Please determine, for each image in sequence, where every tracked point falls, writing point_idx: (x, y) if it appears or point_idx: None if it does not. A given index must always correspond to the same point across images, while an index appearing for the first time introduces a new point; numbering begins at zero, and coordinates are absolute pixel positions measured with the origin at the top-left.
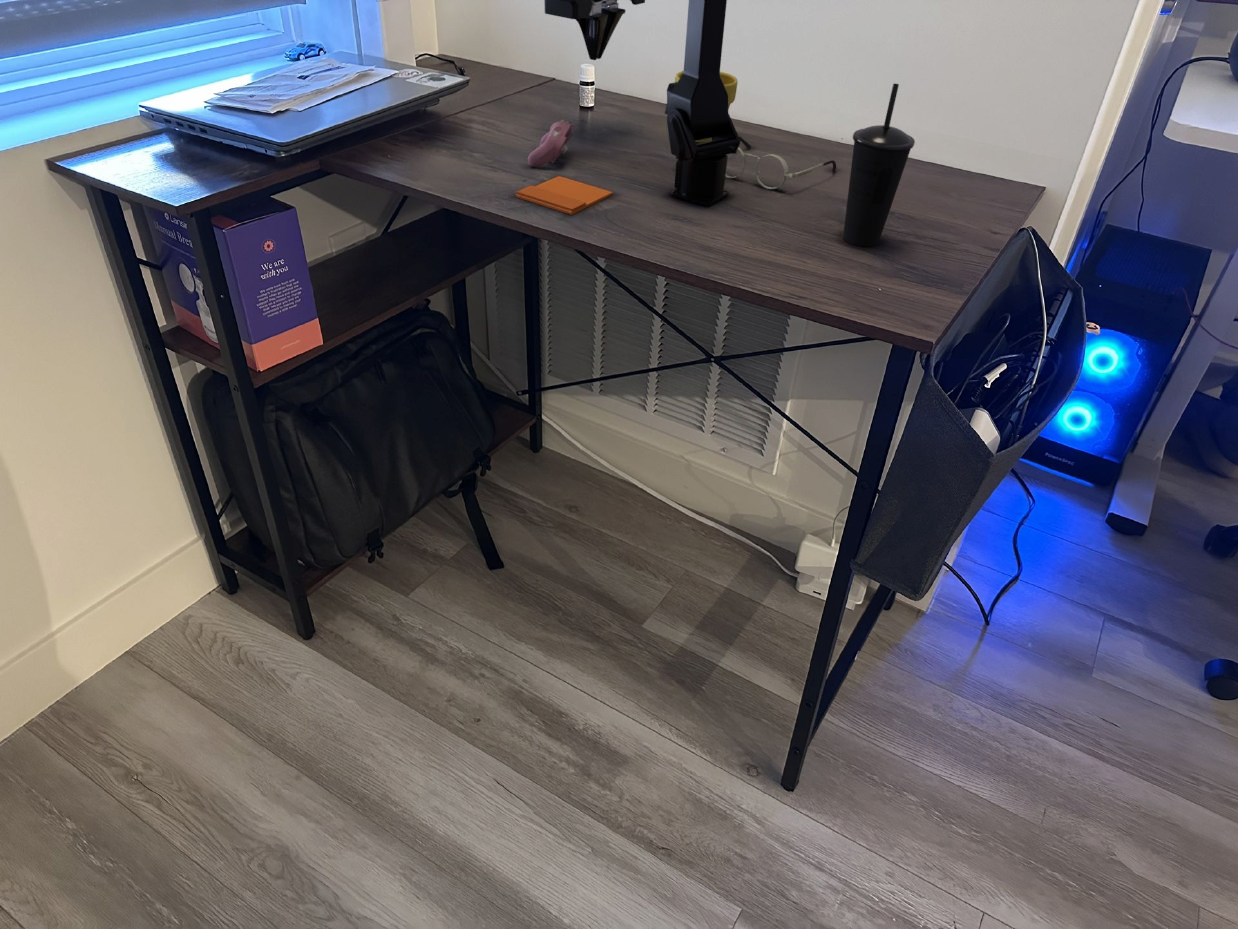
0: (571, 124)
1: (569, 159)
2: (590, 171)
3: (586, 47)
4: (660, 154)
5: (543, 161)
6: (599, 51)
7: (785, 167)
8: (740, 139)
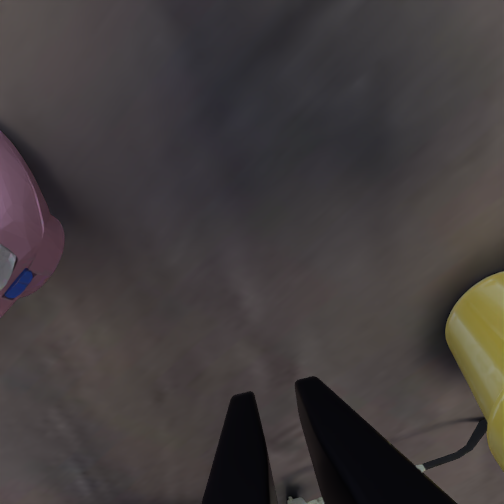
0: (2, 314)
1: None
2: (23, 362)
3: (210, 473)
4: (297, 357)
5: None
6: (316, 464)
7: None
8: (467, 446)
